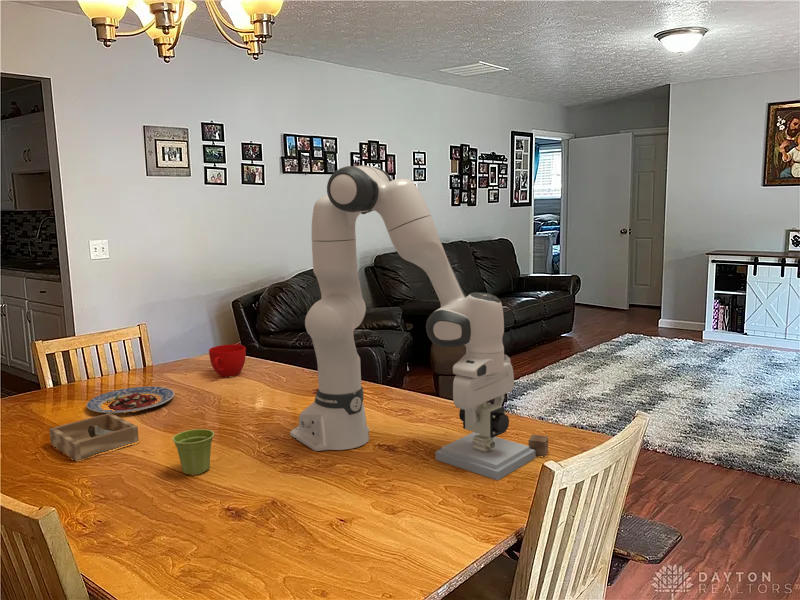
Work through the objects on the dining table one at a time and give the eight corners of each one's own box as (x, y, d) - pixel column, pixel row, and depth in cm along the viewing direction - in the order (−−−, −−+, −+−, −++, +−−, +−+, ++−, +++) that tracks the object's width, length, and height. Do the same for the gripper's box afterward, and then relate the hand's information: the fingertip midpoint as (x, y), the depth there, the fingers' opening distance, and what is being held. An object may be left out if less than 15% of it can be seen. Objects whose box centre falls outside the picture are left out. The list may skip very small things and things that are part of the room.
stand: (435, 459, 156) (435, 447, 155) (474, 440, 167) (474, 429, 167) (497, 480, 143) (497, 467, 143) (535, 458, 155) (535, 446, 155)
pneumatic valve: (497, 458, 148) (497, 408, 146) (458, 445, 156) (458, 398, 154) (511, 452, 152) (512, 403, 150) (473, 439, 160) (473, 392, 158)
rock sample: (133, 426, 170) (103, 409, 167) (116, 451, 166) (85, 434, 163) (123, 433, 178) (94, 416, 175) (106, 457, 173) (77, 441, 170)
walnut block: (528, 455, 157) (528, 440, 156) (531, 449, 160) (531, 434, 160) (544, 457, 155) (545, 442, 155) (547, 451, 159) (548, 436, 158)
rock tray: (51, 445, 171) (49, 428, 170) (111, 429, 182) (109, 412, 181) (76, 462, 159) (74, 444, 158) (139, 443, 171) (137, 426, 170)
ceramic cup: (199, 382, 226) (197, 355, 225) (220, 369, 243) (218, 344, 241) (233, 383, 224) (232, 355, 223) (252, 370, 241) (251, 344, 239)
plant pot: (173, 466, 155) (171, 432, 154) (214, 459, 159) (211, 426, 158) (177, 481, 147) (173, 445, 146) (219, 474, 151) (216, 438, 149)
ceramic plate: (191, 399, 208) (191, 390, 207) (120, 424, 187) (119, 414, 186) (142, 388, 222) (141, 380, 221) (70, 410, 200) (69, 401, 200)
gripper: (498, 351, 161) (498, 404, 163) (447, 368, 146) (448, 426, 149) (520, 354, 157) (520, 409, 159) (470, 372, 142) (470, 432, 144)
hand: (485, 417), depth 154 cm, fingers open, 8 cm apart
